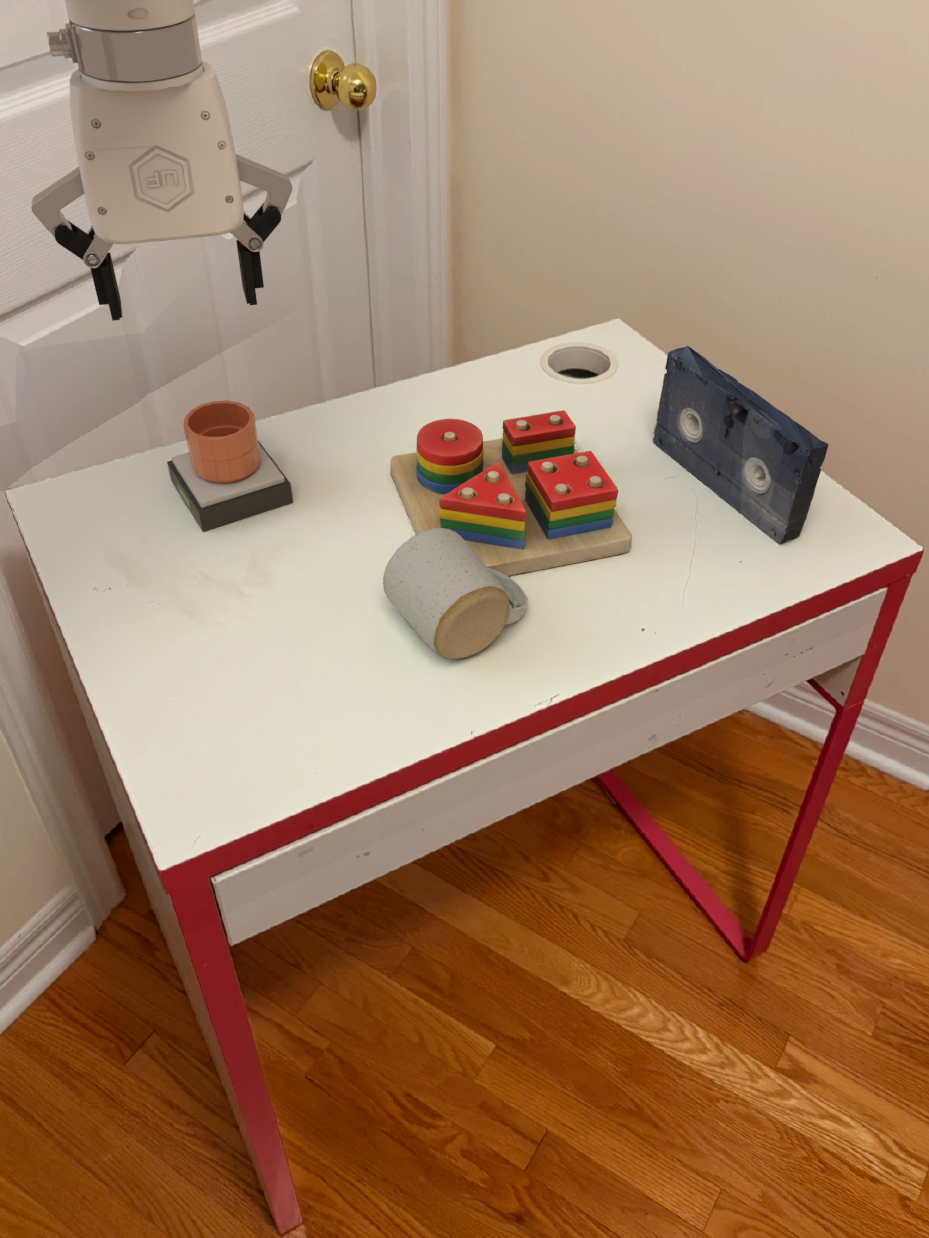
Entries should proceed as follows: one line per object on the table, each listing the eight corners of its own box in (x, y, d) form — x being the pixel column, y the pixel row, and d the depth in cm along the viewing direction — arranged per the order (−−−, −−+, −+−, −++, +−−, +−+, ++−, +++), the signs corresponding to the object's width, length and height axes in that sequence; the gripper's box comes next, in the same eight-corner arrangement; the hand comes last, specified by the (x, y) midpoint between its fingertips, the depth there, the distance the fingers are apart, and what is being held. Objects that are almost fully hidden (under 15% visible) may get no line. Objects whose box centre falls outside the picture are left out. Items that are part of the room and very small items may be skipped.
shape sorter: (632, 553, 91) (641, 497, 87) (439, 591, 87) (438, 534, 83) (560, 441, 103) (565, 387, 99) (388, 470, 99) (385, 415, 95)
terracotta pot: (181, 480, 93) (171, 433, 89) (210, 443, 97) (202, 396, 94) (244, 491, 92) (236, 444, 88) (271, 453, 96) (264, 406, 93)
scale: (202, 532, 92) (197, 507, 90) (170, 481, 98) (164, 456, 96) (293, 502, 95) (290, 477, 93) (257, 454, 101) (253, 430, 99)
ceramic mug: (436, 680, 80) (437, 606, 74) (382, 617, 85) (379, 543, 79) (548, 628, 84) (556, 555, 79) (490, 571, 89) (494, 499, 84)
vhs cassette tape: (802, 538, 93) (831, 444, 86) (776, 548, 91) (803, 454, 85) (675, 433, 104) (691, 343, 97) (651, 441, 103) (665, 351, 96)
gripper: (-12, 76, 61) (61, 343, 73) (286, 57, 64) (309, 315, 76) (-6, 39, 66) (61, 294, 78) (269, 24, 70) (293, 270, 81)
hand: (184, 304), depth 77 cm, fingers open, 9 cm apart
